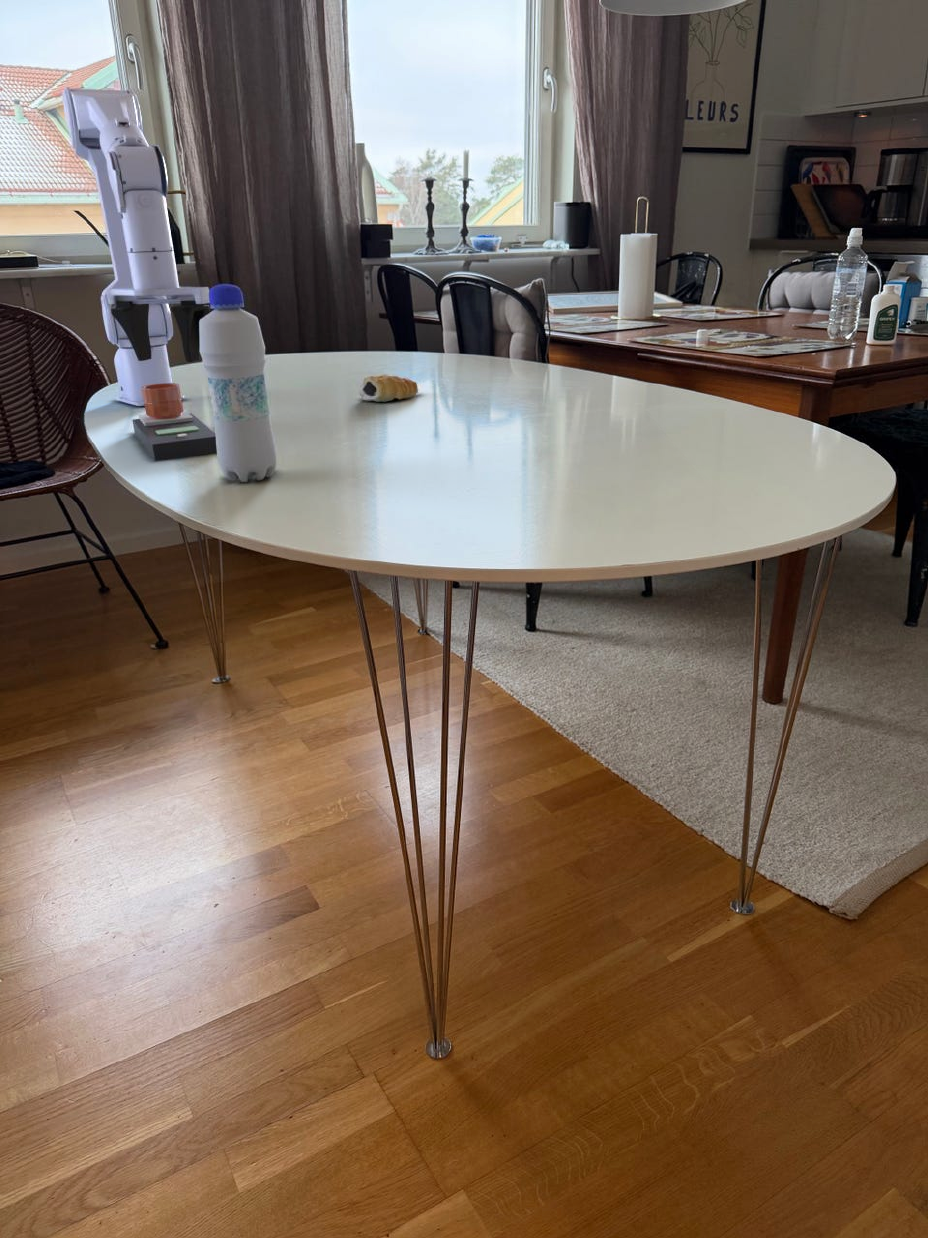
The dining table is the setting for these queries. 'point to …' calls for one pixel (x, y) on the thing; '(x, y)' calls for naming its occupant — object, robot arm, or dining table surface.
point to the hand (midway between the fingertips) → (168, 360)
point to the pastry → (387, 388)
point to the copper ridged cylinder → (162, 400)
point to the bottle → (237, 386)
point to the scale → (175, 436)
